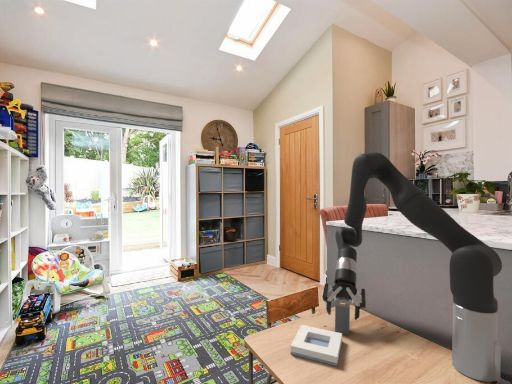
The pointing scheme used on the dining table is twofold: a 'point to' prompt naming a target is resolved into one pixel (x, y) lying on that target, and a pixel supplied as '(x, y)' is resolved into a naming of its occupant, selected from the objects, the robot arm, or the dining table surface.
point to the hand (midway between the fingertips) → (342, 316)
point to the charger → (342, 318)
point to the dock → (317, 344)
